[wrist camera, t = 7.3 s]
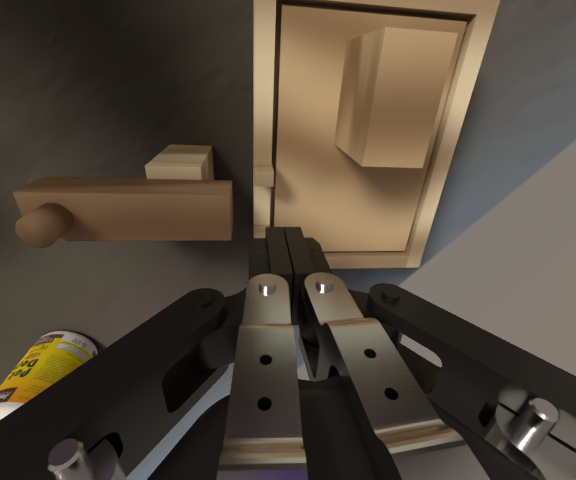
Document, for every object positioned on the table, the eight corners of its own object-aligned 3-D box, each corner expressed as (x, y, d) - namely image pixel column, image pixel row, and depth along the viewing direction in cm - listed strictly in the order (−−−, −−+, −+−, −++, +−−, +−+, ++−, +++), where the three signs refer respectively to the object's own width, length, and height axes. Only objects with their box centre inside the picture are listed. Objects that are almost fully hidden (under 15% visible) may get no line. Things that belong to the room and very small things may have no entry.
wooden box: (150, -14, 18) (85, -72, 11) (436, 13, 20) (537, -21, 13) (180, 230, 25) (154, 289, 18) (386, 230, 28) (433, 283, 21)
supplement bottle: (59, 318, 28) (-29, 431, 19) (112, 348, 31) (55, 461, 22) (25, 348, 29) (-74, 468, 20) (77, 375, 32) (10, 492, 23)
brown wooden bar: (44, 176, 16) (-14, 204, 13) (232, 180, 18) (227, 207, 14) (58, 220, 18) (9, 257, 14) (233, 221, 19) (229, 255, 15)
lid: (279, 10, 15) (296, -26, 10) (453, 25, 16) (552, 0, 11) (272, 243, 22) (279, 299, 16) (397, 242, 23) (443, 295, 17)
